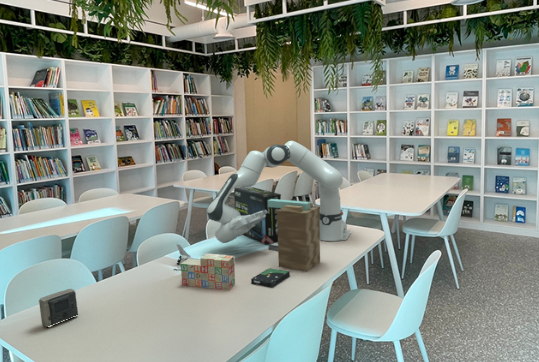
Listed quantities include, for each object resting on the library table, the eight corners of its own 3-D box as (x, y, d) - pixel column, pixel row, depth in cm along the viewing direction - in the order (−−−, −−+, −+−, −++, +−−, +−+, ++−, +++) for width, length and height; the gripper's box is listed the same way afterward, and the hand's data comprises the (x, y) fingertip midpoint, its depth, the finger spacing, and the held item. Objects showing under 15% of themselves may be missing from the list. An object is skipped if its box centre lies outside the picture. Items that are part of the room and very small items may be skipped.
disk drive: (272, 289, 172) (290, 276, 185) (272, 282, 172) (290, 270, 184) (250, 285, 177) (269, 273, 190) (250, 278, 177) (268, 267, 189)
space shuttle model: (214, 277, 188) (213, 254, 186) (167, 270, 198) (166, 249, 197) (231, 265, 202) (231, 244, 200) (187, 259, 212) (186, 240, 211)
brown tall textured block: (293, 257, 208) (291, 200, 204) (321, 262, 201) (320, 202, 197) (277, 266, 196) (276, 206, 192) (306, 272, 188) (305, 208, 184)
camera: (72, 313, 155) (70, 286, 153) (80, 317, 151) (78, 290, 150) (39, 325, 146) (36, 297, 145) (47, 330, 142) (43, 301, 141)
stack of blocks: (181, 285, 178) (179, 256, 176) (188, 279, 184) (187, 251, 182) (229, 290, 172) (228, 260, 170) (235, 284, 177) (234, 255, 176)
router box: (234, 231, 259) (232, 187, 255) (250, 228, 265) (249, 185, 261) (266, 245, 229) (264, 195, 225) (283, 242, 235) (282, 193, 231)
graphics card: (268, 244, 221) (294, 233, 241) (268, 251, 222) (294, 239, 242) (284, 247, 215) (310, 235, 235) (284, 254, 216) (310, 241, 236)
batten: (272, 205, 204) (272, 198, 204) (310, 208, 194) (310, 202, 193) (267, 206, 201) (267, 200, 200) (306, 210, 190) (306, 203, 190)
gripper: (225, 224, 205) (245, 211, 198) (249, 215, 222) (269, 203, 215) (231, 236, 204) (251, 224, 197) (255, 226, 221) (274, 214, 214)
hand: (260, 213), depth 206 cm, fingers open, 8 cm apart
